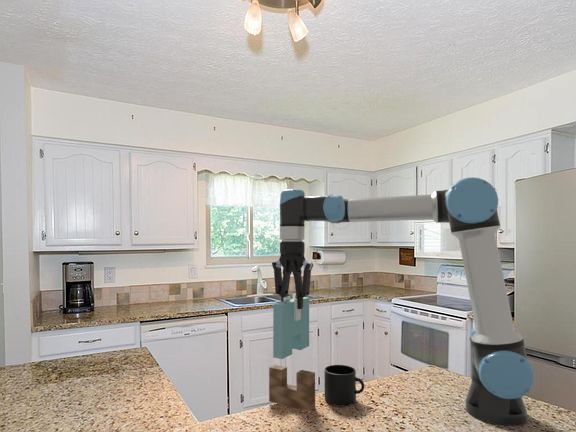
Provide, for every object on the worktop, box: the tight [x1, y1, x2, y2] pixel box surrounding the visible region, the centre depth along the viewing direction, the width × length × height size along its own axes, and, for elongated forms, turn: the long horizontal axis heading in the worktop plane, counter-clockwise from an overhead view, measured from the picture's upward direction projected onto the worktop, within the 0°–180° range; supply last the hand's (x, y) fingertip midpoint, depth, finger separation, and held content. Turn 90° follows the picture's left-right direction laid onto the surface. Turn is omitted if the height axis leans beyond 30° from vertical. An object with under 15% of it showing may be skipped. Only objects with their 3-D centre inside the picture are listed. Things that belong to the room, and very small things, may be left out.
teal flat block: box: [272, 296, 310, 360], centre depth 116 cm, size 16×3×15 cm, turn 149°
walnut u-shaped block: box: [268, 364, 316, 412], centre depth 115 cm, size 14×3×10 cm, turn 59°
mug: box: [323, 364, 365, 407], centre depth 118 cm, size 9×12×9 cm
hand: (292, 319), depth 116 cm, fingers closed on teal flat block, 3 cm apart
